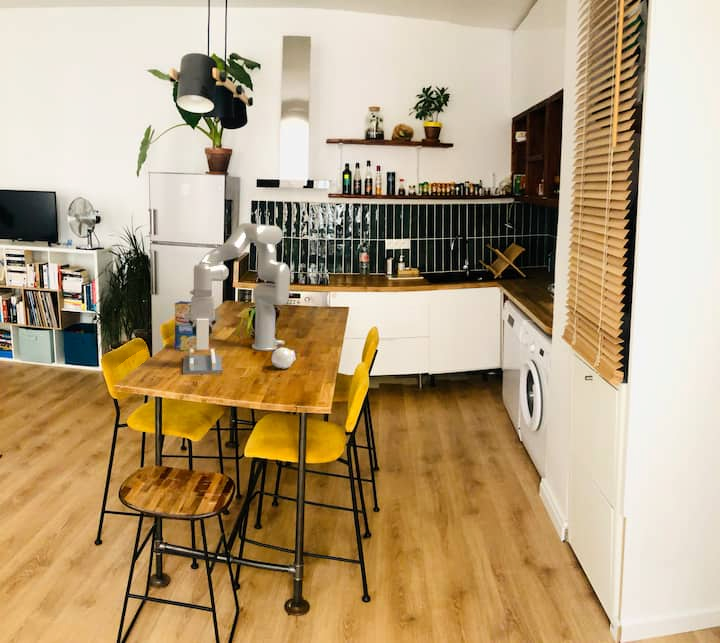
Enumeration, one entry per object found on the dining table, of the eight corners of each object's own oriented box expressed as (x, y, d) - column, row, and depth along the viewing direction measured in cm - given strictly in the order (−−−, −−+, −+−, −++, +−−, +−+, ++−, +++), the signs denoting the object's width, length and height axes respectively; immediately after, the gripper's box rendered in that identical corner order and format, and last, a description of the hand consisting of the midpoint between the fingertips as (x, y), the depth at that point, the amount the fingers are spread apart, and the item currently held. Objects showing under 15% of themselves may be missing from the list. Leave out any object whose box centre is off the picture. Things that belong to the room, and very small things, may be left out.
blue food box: (196, 351, 333) (196, 305, 329) (174, 349, 335) (174, 303, 331) (202, 348, 340) (202, 302, 336) (180, 346, 342) (180, 301, 338)
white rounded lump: (274, 374, 306) (287, 369, 320) (292, 363, 303) (304, 359, 318) (264, 355, 306) (277, 352, 321) (282, 344, 304) (294, 341, 318)
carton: (208, 344, 312) (208, 315, 309) (208, 349, 303) (208, 319, 301) (195, 344, 310) (196, 315, 308) (196, 349, 302) (196, 319, 299)
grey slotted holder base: (220, 358, 323) (220, 348, 322) (222, 373, 298) (222, 363, 297) (183, 358, 319) (183, 348, 318) (183, 374, 294) (183, 363, 293)
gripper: (181, 294, 297) (181, 337, 300) (223, 295, 301) (222, 337, 304) (182, 292, 304) (181, 333, 307) (222, 292, 308) (222, 333, 311)
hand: (202, 335), depth 306 cm, fingers closed on carton, 5 cm apart
